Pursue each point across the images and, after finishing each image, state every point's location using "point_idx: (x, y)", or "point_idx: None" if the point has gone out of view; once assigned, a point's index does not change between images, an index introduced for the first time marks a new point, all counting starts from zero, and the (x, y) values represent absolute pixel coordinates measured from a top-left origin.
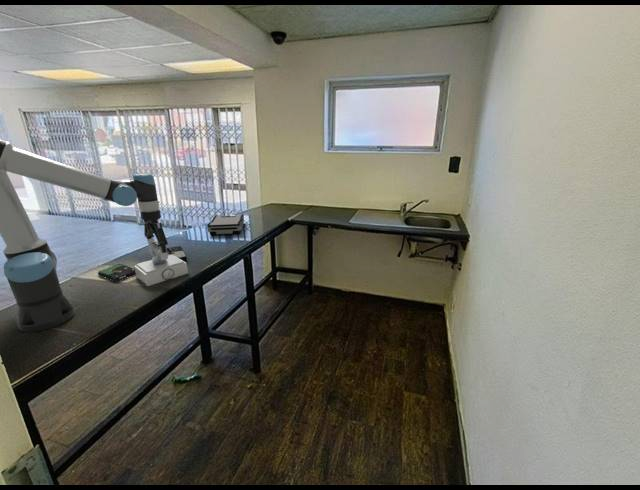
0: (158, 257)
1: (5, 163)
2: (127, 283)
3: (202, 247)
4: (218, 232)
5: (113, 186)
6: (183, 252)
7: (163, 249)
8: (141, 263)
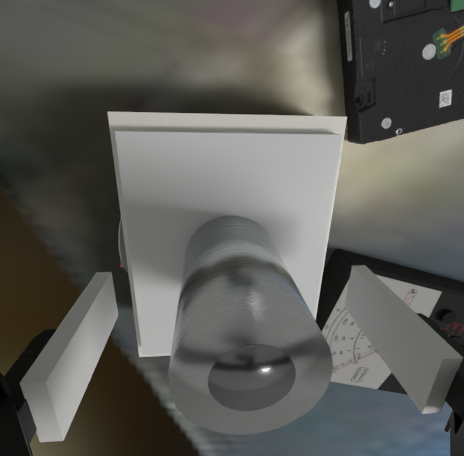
0: (183, 272)
1: None
2: (261, 38)
3: (384, 439)
4: None
5: None
6: (355, 384)
7: (15, 370)
8: (320, 165)
